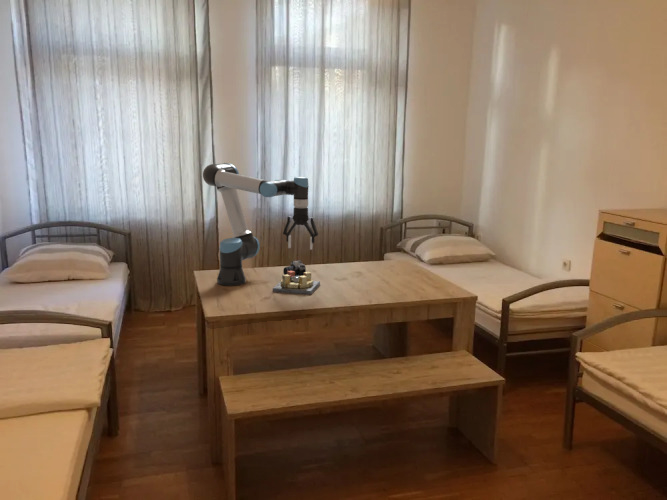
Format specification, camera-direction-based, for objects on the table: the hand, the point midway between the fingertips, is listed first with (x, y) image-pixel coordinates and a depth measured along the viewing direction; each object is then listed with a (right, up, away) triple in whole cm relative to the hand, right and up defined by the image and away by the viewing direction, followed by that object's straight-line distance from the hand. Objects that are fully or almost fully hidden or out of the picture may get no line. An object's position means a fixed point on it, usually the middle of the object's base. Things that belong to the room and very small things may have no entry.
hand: (300, 248), depth 303 cm
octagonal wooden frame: (-2, -19, -3) cm, 19 cm away
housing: (-2, -21, -2) cm, 21 cm away
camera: (-5, -17, +19) cm, 26 cm away
